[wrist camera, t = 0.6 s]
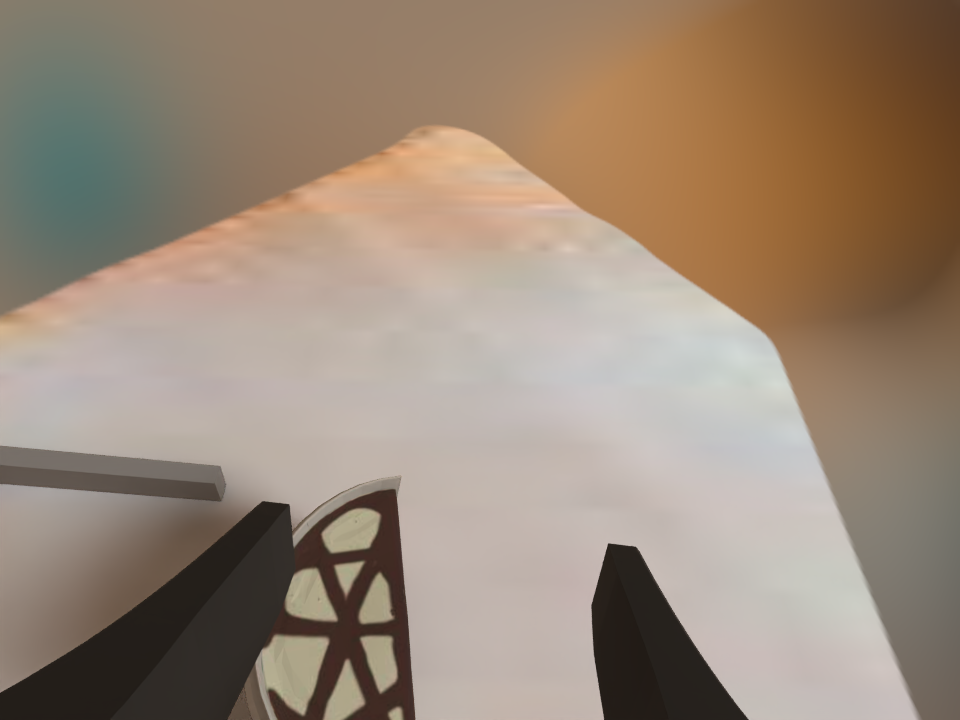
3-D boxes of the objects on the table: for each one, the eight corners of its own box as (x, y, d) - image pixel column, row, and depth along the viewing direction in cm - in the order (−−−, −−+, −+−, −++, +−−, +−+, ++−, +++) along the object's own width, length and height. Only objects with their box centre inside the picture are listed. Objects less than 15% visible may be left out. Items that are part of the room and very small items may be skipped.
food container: (266, 548, 30) (248, 472, 22) (379, 538, 32) (400, 464, 24) (251, 841, 23) (218, 878, 15) (397, 807, 25) (433, 826, 17)
